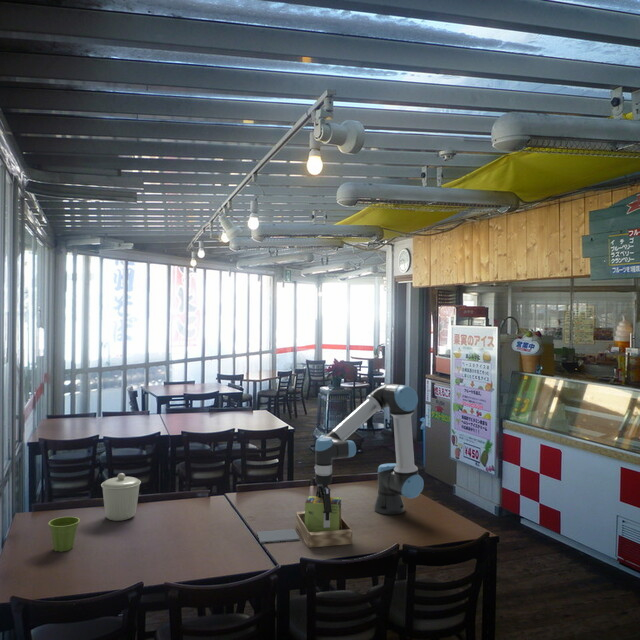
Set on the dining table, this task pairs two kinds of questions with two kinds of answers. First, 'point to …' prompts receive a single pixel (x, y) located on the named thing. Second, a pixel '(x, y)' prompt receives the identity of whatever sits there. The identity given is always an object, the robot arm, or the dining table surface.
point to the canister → (120, 497)
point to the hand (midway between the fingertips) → (323, 522)
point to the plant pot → (63, 532)
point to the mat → (278, 535)
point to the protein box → (322, 514)
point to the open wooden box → (323, 534)
